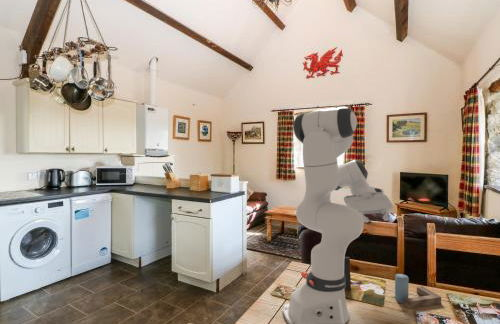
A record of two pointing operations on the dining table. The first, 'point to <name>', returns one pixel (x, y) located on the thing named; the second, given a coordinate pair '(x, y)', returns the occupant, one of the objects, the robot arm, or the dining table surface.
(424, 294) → the stop rail
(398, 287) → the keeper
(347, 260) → the door stopper
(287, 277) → the dining table surface
